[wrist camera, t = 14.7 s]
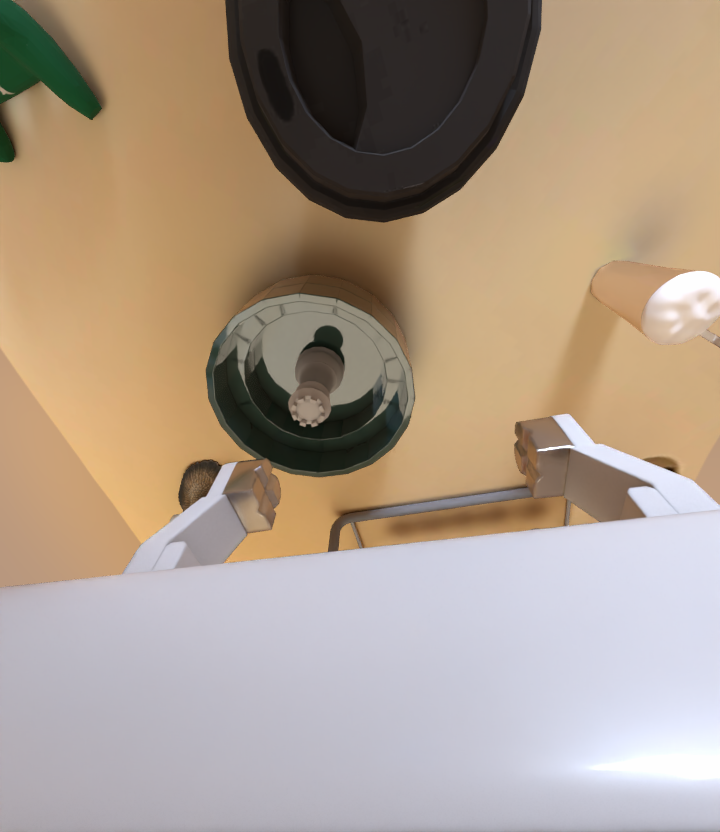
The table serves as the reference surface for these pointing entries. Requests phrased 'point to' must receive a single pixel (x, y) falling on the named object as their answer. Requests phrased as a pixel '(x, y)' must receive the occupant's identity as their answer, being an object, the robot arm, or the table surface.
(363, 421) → the dark green pet bowl
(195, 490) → the eagle figurine
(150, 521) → the table surface
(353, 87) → the coffee cup
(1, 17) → the gaming controller
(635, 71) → the table surface
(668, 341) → the milkshake
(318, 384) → the rook chess piece
